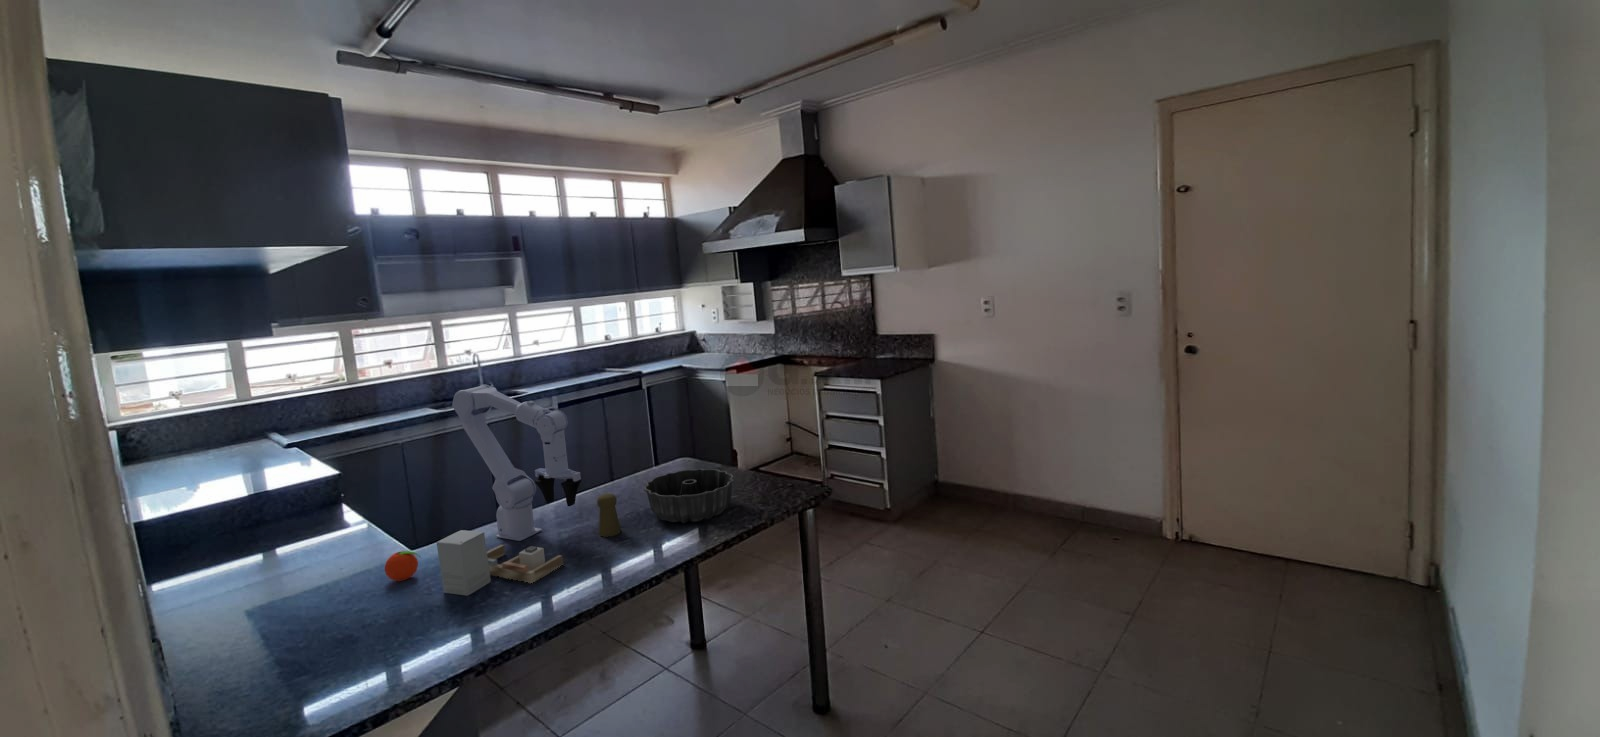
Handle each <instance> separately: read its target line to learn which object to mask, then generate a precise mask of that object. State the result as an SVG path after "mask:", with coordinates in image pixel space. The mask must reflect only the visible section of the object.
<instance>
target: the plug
mask: <svg viewBox="0 0 1600 737" xmlns="http://www.w3.org/2000/svg"><path fill="white" fill-rule="evenodd" d="M518 555H519V558H520V564H522V565H527V566H528V570H530V571H531V570H533V569H535V568H537V567H538V566H540V565H542V564H544V563H545V562H546V558H545V550H544V548H543V547H539V546H533V545H530V546H528V547H527V548H525V549H523V550H521V551H519V552H518Z"/></svg>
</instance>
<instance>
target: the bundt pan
mask: <svg viewBox="0 0 1600 737" xmlns="http://www.w3.org/2000/svg"><path fill="white" fill-rule="evenodd" d="M733 483H734V475H733V474H732V473H728V472H727V471H726V470H720V469H716V468H706V469H705V468H695V469H683V470H681V469H680V470H677V471H673V472H667V473H665V474H663V475H659V476H655V477H653V478H652V479H650V481H647V482H645V486H644V487H643V489H644V492H646V496H647V499H648V503H649V507H650V509H651V511H652V513H653V514H655V516H656V517H657V518H658V519H659V520H661V521H668V522H670V523H678V522H681V523H682V524H686V523H688V522H689V521H690V522H691V523H694V522H701V521H702V520H703V519H704V520H710V519H711V518H712V517H714V516H718V515H720V514H721V513H722V512H723V511H725V510H726V509H728V507H729V506H730V504H731V501H732V493H733V492H732V491H733Z"/></svg>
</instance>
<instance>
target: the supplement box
mask: <svg viewBox="0 0 1600 737" xmlns="http://www.w3.org/2000/svg"><path fill="white" fill-rule="evenodd" d="M486 543H487V542H486V536H485V532H484V531H474V530H473V531H472V530H467V529H466V530H464V529H460V530H459V531H456V532H454V533H452V534H450V535H448V536H446V537H444V538H442V539H440V540H438V541H436V548H437V555H438V561H439V569H440V575H441V576H440V577H441V584H442V590H443V593H444V594H453V595H458V596H459V595H460V596H465V597H469V595H472V594H473V593H475V592H477V591H478V590H480V589H482V588H483V587H485V586H486V585H488V584H490V583H491V575H490V572H489V564H488V557H487V551H488V550H487V544H486Z"/></svg>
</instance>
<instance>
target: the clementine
mask: <svg viewBox="0 0 1600 737" xmlns="http://www.w3.org/2000/svg"><path fill="white" fill-rule="evenodd" d="M415 555H416V556H417V557H419V558H420V559H422V557H421V556H420V555H419V554H418V553H416V552H415V551H410V550H406V551H405V550H403V551H402V550H401V551H398V552H395V553H394V554H391V556H389V557H388V559H387V560H386V561H385V564H384V572H385V575H386V576H387V577H388V579H390V580H392V581H395V582H402V581H406V580H408V579H410V578H412V576H414V574H415V573H416V572H417V569H418V566H419V561H418V559H417V557H416V556H415Z"/></svg>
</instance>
